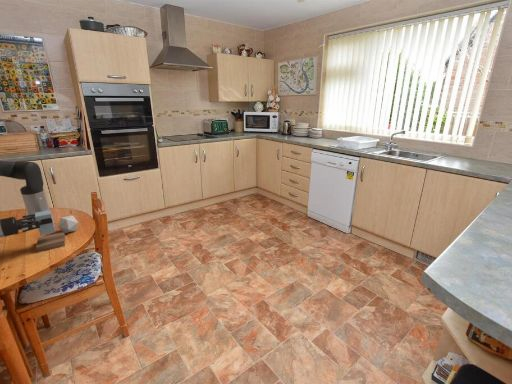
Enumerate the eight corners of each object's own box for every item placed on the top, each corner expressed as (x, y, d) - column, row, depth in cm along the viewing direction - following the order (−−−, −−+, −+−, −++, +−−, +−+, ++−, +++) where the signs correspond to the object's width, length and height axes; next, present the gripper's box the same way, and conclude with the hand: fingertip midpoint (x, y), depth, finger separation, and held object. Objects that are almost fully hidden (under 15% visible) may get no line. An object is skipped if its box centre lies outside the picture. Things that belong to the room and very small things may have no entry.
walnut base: (39, 243, 127) (38, 237, 126) (65, 237, 132) (63, 231, 131) (38, 253, 119) (36, 247, 118) (65, 246, 124) (63, 240, 123)
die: (80, 226, 143) (66, 213, 140) (84, 223, 137) (69, 210, 134) (67, 238, 138) (51, 225, 135) (70, 235, 132) (54, 221, 129)
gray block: (40, 230, 123) (35, 212, 120) (55, 227, 127) (50, 209, 124) (40, 235, 119) (35, 216, 116) (55, 232, 122) (50, 213, 119)
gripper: (-3, 226, 106) (50, 215, 116) (0, 214, 117) (49, 205, 127) (3, 243, 109) (54, 231, 118) (6, 229, 119) (53, 219, 129)
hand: (51, 217), depth 122 cm, fingers closed on gray block, 5 cm apart
